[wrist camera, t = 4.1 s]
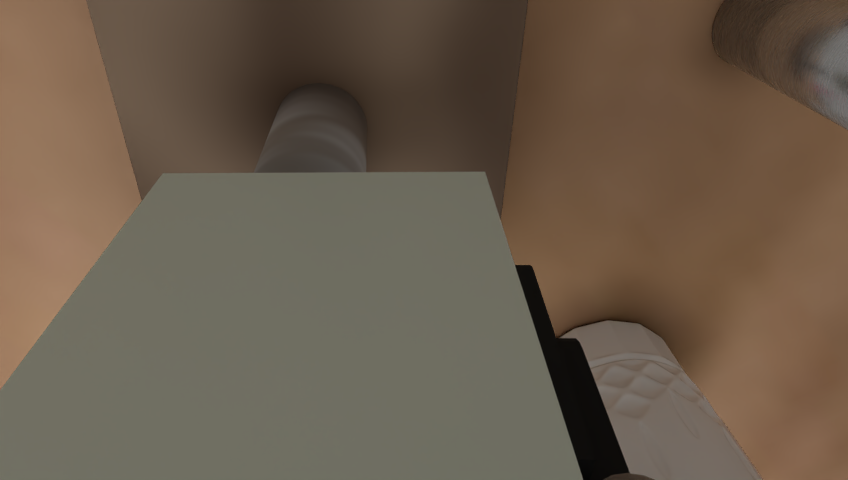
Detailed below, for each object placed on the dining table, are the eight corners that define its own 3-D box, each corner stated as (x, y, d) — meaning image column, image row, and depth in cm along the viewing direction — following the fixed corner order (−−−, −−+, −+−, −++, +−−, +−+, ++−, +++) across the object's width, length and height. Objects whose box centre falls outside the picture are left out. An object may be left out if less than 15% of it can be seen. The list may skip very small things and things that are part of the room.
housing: (485, 171, 10) (590, 503, 5) (466, 390, 13) (517, 741, 8) (162, 173, 9) (-104, 529, 4) (220, 396, 12) (100, 765, 7)
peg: (813, -24, 18) (1028, 30, 12) (779, 65, 19) (955, 152, 13) (728, -27, 18) (904, 28, 12) (701, 64, 19) (844, 152, 13)
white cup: (488, 352, 26) (542, 583, 18) (655, 281, 24) (802, 499, 16) (548, 444, 30) (615, 667, 22) (695, 389, 28) (828, 607, 20)
